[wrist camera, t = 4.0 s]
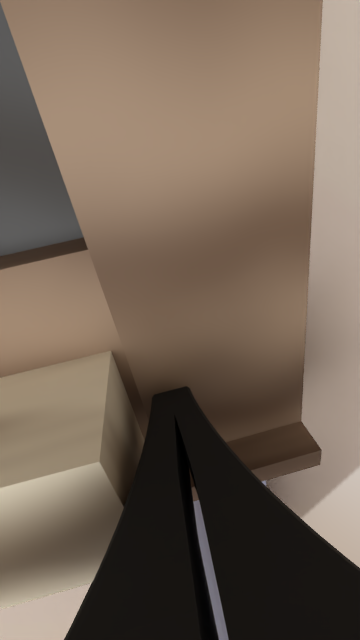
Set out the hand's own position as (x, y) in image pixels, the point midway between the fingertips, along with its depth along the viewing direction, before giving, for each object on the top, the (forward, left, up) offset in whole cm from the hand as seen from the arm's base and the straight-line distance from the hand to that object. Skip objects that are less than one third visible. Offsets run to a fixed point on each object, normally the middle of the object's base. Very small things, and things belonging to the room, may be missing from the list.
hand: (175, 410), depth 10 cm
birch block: (0, +4, -1) cm, 4 cm away
